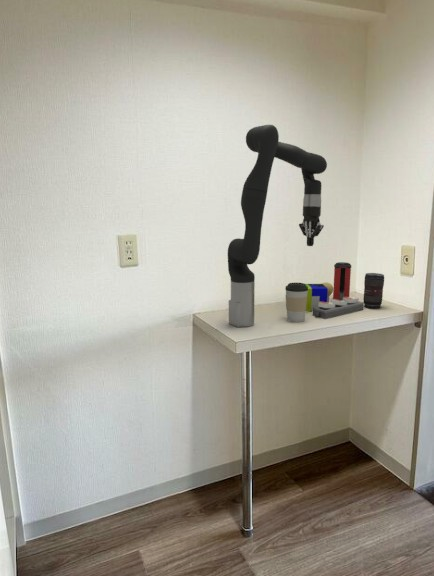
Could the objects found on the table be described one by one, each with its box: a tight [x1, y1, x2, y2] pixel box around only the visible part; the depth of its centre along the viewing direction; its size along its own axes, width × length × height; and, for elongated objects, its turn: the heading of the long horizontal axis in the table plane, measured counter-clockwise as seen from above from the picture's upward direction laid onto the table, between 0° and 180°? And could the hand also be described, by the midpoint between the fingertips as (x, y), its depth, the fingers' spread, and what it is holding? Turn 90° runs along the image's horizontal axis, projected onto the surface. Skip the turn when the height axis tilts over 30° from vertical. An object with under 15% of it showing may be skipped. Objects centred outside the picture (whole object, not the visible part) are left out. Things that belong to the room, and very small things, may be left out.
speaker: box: [332, 261, 352, 301], centre depth 198 cm, size 8×8×18 cm
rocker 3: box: [343, 296, 359, 303], centre depth 184 cm, size 6×4×2 cm, turn 124°
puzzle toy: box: [305, 283, 328, 312], centre depth 187 cm, size 10×10×10 cm
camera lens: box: [363, 272, 385, 310], centre depth 187 cm, size 8×8×15 cm
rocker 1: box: [318, 301, 335, 308], centre depth 176 cm, size 6×4×2 cm, turn 124°
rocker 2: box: [330, 297, 347, 306], centre depth 180 cm, size 6×4×2 cm, turn 124°
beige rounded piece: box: [321, 282, 334, 303], centre depth 193 cm, size 6×6×10 cm
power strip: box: [311, 300, 364, 320], centre depth 180 cm, size 26×7×3 cm, turn 124°
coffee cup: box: [284, 282, 308, 323], centre depth 170 cm, size 9×9×15 cm
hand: (310, 245), depth 184 cm, fingers closed
